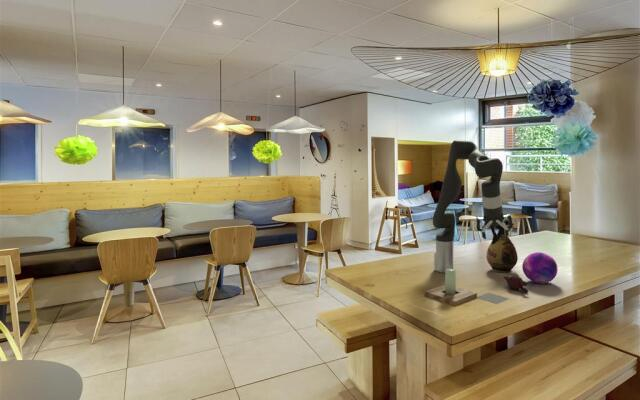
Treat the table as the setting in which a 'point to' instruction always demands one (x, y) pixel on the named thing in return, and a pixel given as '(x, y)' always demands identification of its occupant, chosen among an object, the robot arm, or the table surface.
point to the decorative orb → (539, 267)
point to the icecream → (516, 283)
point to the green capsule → (450, 281)
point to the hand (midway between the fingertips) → (495, 237)
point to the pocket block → (455, 299)
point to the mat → (492, 298)
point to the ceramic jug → (501, 251)
